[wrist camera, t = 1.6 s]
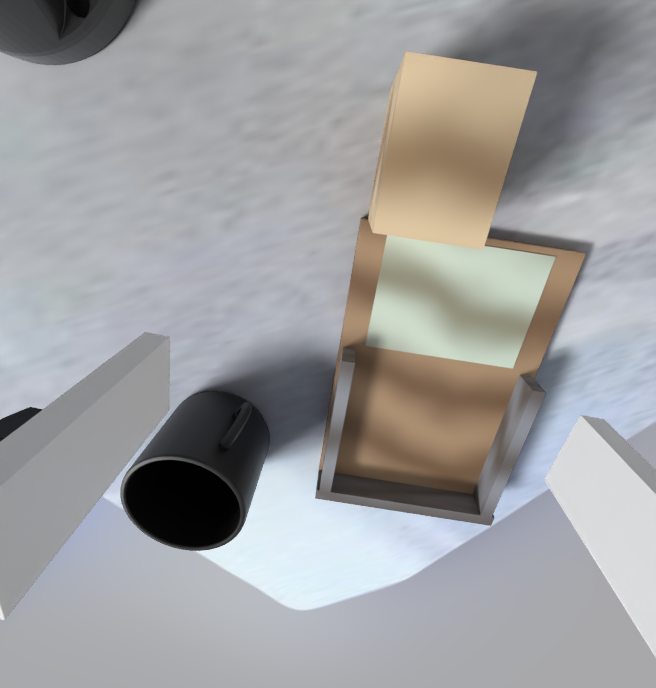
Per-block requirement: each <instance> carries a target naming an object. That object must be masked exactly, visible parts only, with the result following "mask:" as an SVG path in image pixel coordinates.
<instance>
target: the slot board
mask: <svg viewBox="0 0 656 688" xmlns="http://www.w3.org/2000/svg"><path fill="white" fill-rule="evenodd" d="M585 255H586V254H585V253H582V252H579V251H573V250H566V249H560V248H553V247H547V246H540V245H534V244H527V243H521V242H514V241H508V240H501V239H495V238H488V237H487V239H486V243H485V246H484V249H483V250H481V249H474V248H468V247H461V246H455V245H448V244H442V243H435V242H429V241H422V240H416V239H409V238H403V237H396V236H390V235H383V234H377V233H373V232H372V229H371V226H370V224H369V221H368V219H365V218H361V221H360V227H359V233H358V239H357V245H356V251H355V257H354V263H353V269H352V275H351V281H350V287H349V293H348V299H347V305H346V311H345V317H344V323H343V329H342V335H341V341H340V347H339V353H338V358H337V364H336V370H335V376H334V382H333V388H332V394H331V400H330V406H329V412H328V418H327V424H326V430H325V436H324V442H323V448H322V454H321V460H320V466H319V472H318V480H317V488H316V497H315V498H317V499H323V500H329V501H336V502H342V503H349V504H355V505H362V506H368V507H374V508H381V509H387V510H394V511H400V512H407V513H413V514H419V515H426V516H432V517H439V518H445V519H452V520H458V521H464V522H471V523H477V524H484V525H490V526H491V524H492V522H493V520H494V515H493V513H494V511H495V508H496V506H497V504H498V502H499V499H500V497H501V495H502V492H503V490H504V488H505V486H506V483H507V481H508V479H509V476H510V474H511V472H512V470H513V467H514V465H515V463H516V460H517V458H518V456H519V454H520V451H521V449H522V447H523V444H524V442H525V440H526V438H527V435H528V433H529V431H530V428H531V426H532V424H533V422H534V419H535V417H536V415H537V412H538V410H539V408H540V406H541V403H542V401H543V399H544V396H545V394H546V392H545V391H544V390H543V389H542V388H541V386H540V385H539V384H538V383H537V382H536V381H535V380H534V378H535V376H536V373H537V371H538V368H539V366H540V364H541V361H542V359H543V356H544V354H545V352H546V349H547V347H548V344H549V342H550V339H551V337H552V335H553V332H554V330H555V327H556V325H557V323H558V320H559V318H560V315H561V313H562V311H563V308H564V306H565V303H566V301H567V299H568V296H569V294H570V291H571V289H572V287H573V284H574V282H575V279H576V277H577V274H578V272H579V270H580V267H581V265H582V262H583V260H584V258H585Z"/></svg>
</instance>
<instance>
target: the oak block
mask: <svg viewBox="0 0 656 688" xmlns="http://www.w3.org/2000/svg"><path fill="white" fill-rule="evenodd" d="M536 75H537V71H530V70H524V69H517V68H511V67H504V66H498V65H491V64H485V63H478V62H472V61H465V60H459V59H452V58H446V57H439V56H432V55H426V54H419V53H413V52H406V53H405V55H404V58H403V60H402V63H401V65H400V67H399V70H398V72H397V75H396V77H395V80H394V82H393V85H392V87H391V90H390V95H389V101H388V107H387V112H386V118H385V124H384V130H383V135H382V141H381V147H380V152H379V158H378V164H377V170H376V175H375V181H374V187H373V192H372V198H371V204H370V209H369V215H368V221H369V224H370V226H371V229H372V232H373V233H377V234H383V235H390V236H396V237H403V238H409V239H416V240H422V241H429V242H435V243H442V244H448V245H455V246H461V247H468V248H474V249H481V250H483V249H484V246H485V243H486V239H487V236H488V233H489V229H490V226H491V223H492V220H493V216H494V213H495V210H496V206H497V203H498V200H499V197H500V193H501V190H502V187H503V183H504V180H505V177H506V174H507V170H508V167H509V164H510V160H511V157H512V154H513V151H514V147H515V144H516V141H517V137H518V134H519V131H520V128H521V124H522V121H523V118H524V114H525V111H526V108H527V105H528V101H529V98H530V95H531V91H532V88H533V85H534V82H535V78H536Z"/></svg>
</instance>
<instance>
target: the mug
mask: <svg viewBox="0 0 656 688" xmlns="http://www.w3.org/2000/svg"><path fill="white" fill-rule="evenodd" d="M269 441H270V437H269V431H268V428H267V425H266V422H265V421H264V419H263V417H262V415H261V414H260V413H259V412H258V410H257V409H256V408H255V407H253V406H252V405H251V404H250V403H248V402H247V401H245V400H244V399H242V398H240V397H238V396H235V395H233V394H229V393H225V392H217V391H212V392H203V393H199V394H196V395H193V396H191V397H189V398H187V399H186V400H184V401H183V402H182V403H181V404H180V405H179V406H178V407H177V409H176V410H175V411H174V412H173V414H172V415H171V416H170V418H169V419H168V420H167V421H166V423H165V424H164V425H163V426H162V428H161V429H160V430H159V432H158V433H157V434H156V435H155V437H154V438H153V439H152V441H151V442H150V443H149V444H148V446H147V447H146V448H145V450H144V451H143V452H142V453H141V455H140V456H139V457H138V459H137V460H136V461H135V462H134V464H133V465H132V466H131V468H130V469H129V470H128V471H127V473H126V475H125V477H124V478H123V481H122V485H121V493H120V495H121V502H122V505H123V508H124V510H125V512H126V514H127V515H128V517H129V518H130V520H131V521H132V522H133V523H134V524H135V525H136V526H137V527H138V528H139V529H140V530H141V531H142V532H143V533H145V534H146V535H148V536H150V537H151V538H152V539H154V540H156V541H158V542H160V543H162V544H165V545H168V546H171V547H174V548H179V549H183V550H191V551H200V550H210V549H214V548H217V547H220V546H222V545H225V544H226V543H228V542H230V541H231V540H232V539H233V538H235V537H236V536H237V535H238V533H239V532H240V531H241V529H242V527H243V525H244V523H245V520H246V517H247V514H248V511H249V508H250V505H251V501H252V498H253V495H254V492H255V489H256V486H257V483H258V480H259V476H260V473H261V470H262V467H263V464H264V461H265V458H266V455H267V451H268V448H269Z"/></svg>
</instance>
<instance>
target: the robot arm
mask: <svg viewBox="0 0 656 688" xmlns="http://www.w3.org/2000/svg"><path fill="white" fill-rule="evenodd" d="M135 2H136V0H0V52H2V53H5V54H8V55H11V56H13V57H16V58H19V59H21V60H25V61H28V62H32V63H37V64H45V65H62V64H69V63H74V62H77V61H80V60H83V59H85V58H88V57H90V56H91V55H93V54H95V53H97V52H98V51H100V50H101V49H102V48H103V47H105V46H106V45H107V44H108V43H109V42H110V41H111V40H112V39H113V38H114V37H115V36H116V35H117V33H118V32H119V31H120V30H121V28H122V27H123V25H124V24H125V22H126V20H127V19H128V17H129V15H130V13H131V11H132V9H133V7H134V4H135ZM169 375H170V337H168V336H163V335H158V334H152V333H147V332H145V333H143V334H142V335H141V336H139V337H138V338H137V339H136V340H134V341H133V342H132V343H130V344H129V345H128V346H126V347H125V348H124V349H122V350H121V351H120V352H118V353H117V354H116V355H114V356H113V357H112V358H110V359H109V360H108V361H106V362H105V363H104V364H102V365H101V366H100V367H99V368H97V369H96V370H95V371H93V372H92V373H91V374H89V375H88V376H87V377H85V378H84V379H83V380H81V381H80V382H79V383H77V384H76V385H75V386H73V387H72V388H71V389H69V390H68V391H67V392H65V393H64V394H63V395H61V396H60V397H59V398H58V399H56V400H55V401H54V402H52V403H51V404H50V405H48V406H47V407H46V408H44V409H38V408H32V407H29V408H27V409H24V410H22V411H19V412H17V413H14V414H12V415H10V416H7V417H5V418H2V419H1V420H0V619H1V620H5V619H6V618H7V616H8V615H9V614H10V613H11V612H12V610H13V609H14V608H15V607H16V605H17V604H18V603H19V601H20V600H21V599H22V598H23V596H24V595H25V594H26V592H27V591H28V590H29V589H30V587H31V586H32V585H33V584H34V582H35V581H36V580H37V578H38V577H39V576H40V574H41V573H42V572H43V571H44V569H45V568H46V567H47V566H48V564H49V563H50V562H51V561H52V559H53V558H54V557H55V555H56V554H57V553H58V551H59V550H60V549H61V548H62V546H63V545H64V544H65V543H66V541H67V540H68V539H69V538H70V536H71V535H72V534H73V532H74V531H75V530H76V529H77V527H78V526H79V525H80V523H81V522H82V521H83V520H84V518H85V517H86V516H87V514H88V513H89V512H90V511H91V509H92V508H93V507H94V506H95V504H96V503H97V502H98V500H99V499H100V498H101V497H102V495H103V494H104V493H105V491H106V490H107V489H108V488H109V486H110V485H111V484H112V483H113V481H114V480H115V479H116V477H117V476H118V475H119V474H120V472H121V471H122V470H123V468H124V467H125V466H126V465H127V463H128V462H129V461H130V460H131V458H132V457H133V456H134V454H135V453H136V452H137V451H138V449H139V448H140V447H141V445H142V444H143V443H144V442H145V440H146V439H147V438H148V436H149V435H150V434H151V433H152V431H153V430H154V429H155V428H156V426H157V425H158V424H159V422H160V421H161V420H162V419H163V417H164V416H165V415H166V413H167V412H168V411H169ZM544 480H545V482H546V483H547V485H548V487H549V488H550V490H551V491H552V493H553V495H554V496H555V498H556V499H557V501H558V502H559V504H560V506H561V507H562V509H563V510H564V512H565V514H566V515H567V517H568V518H569V520H570V522H571V523H572V525H573V526H574V528H575V530H576V531H577V533H578V534H579V536H580V538H581V539H582V541H583V542H584V544H585V546H586V547H587V549H588V550H589V552H590V554H591V555H592V557H593V558H594V560H595V561H596V563H597V565H598V566H599V568H600V569H601V571H602V573H603V574H604V576H605V577H606V579H607V581H608V582H609V584H610V585H611V587H612V589H613V590H614V591H615V593H616V595H617V597H618V598H619V600H620V601H621V603H622V605H623V606H624V608H625V609H626V611H627V612H628V614H629V616H630V617H631V619H632V620H633V622H634V624H635V625H636V627H637V628H638V630H639V632H640V633H641V635H642V636H643V638H644V639H645V641H646V643H647V644H648V646H649V648H650V649H651V651H652V652H653V654H654V655H655V657H656V470H655V469H654V468H653V467H652V466H651V465H650V464H649V463H648V462H647V461H646V460H645V459H644V458H643V457H642V456H641V455H640V454H639V453H638V452H637V451H636V450H635V449H634V448H633V447H632V446H631V445H629V443H628V442H627V441H626V440H625V439H624V438H623V437H622V436H620V435H619V434H618V433H617V432H616V431H615V430H614V429H613V428H612V427H611V426H610V425H609V424H608V423H607V422H606V421H605V420H604V419H599V418H594V417H589V416H583V415H580V417H579V419H578V420H577V422H576V424H575V426H574V428H573V429H572V431H571V433H570V435H569V437H568V438H567V440H566V442H565V444H564V445H563V447H562V449H561V451H560V453H559V454H558V456H557V458H556V460H555V462H554V463H553V465H552V467H551V469H550V471H549V472H548V474H547V476H546V478H545V479H544Z"/></svg>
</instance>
